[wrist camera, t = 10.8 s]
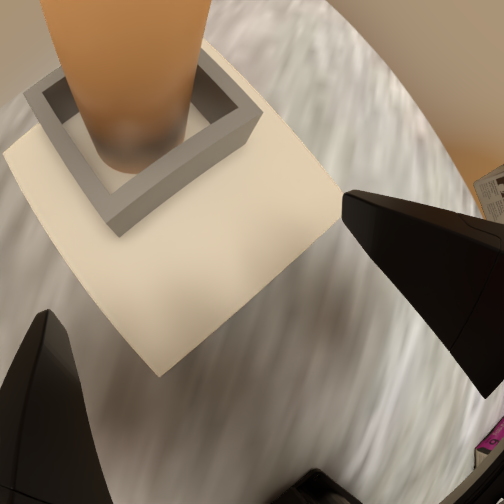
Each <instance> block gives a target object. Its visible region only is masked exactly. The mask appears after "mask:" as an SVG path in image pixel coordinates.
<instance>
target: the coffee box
mask: <svg viewBox="0 0 504 504" xmlns="http://www.w3.org/2000/svg"><path fill="white" fill-rule="evenodd" d="M474 188H475V190H476V193H477V195H478V198H479V201H480V203H481V206H482V209H483V212H484V214H485V217H486V220H488V221H492V222H497V223H501V224H504V164H503V165H501V166H500V167H498V168H496V169H495V170H493V171H492V172H490V173H488V174H487V175H485V176H483V177H482V178H480V179H479V180H477V181H475V182H474Z"/></svg>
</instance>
